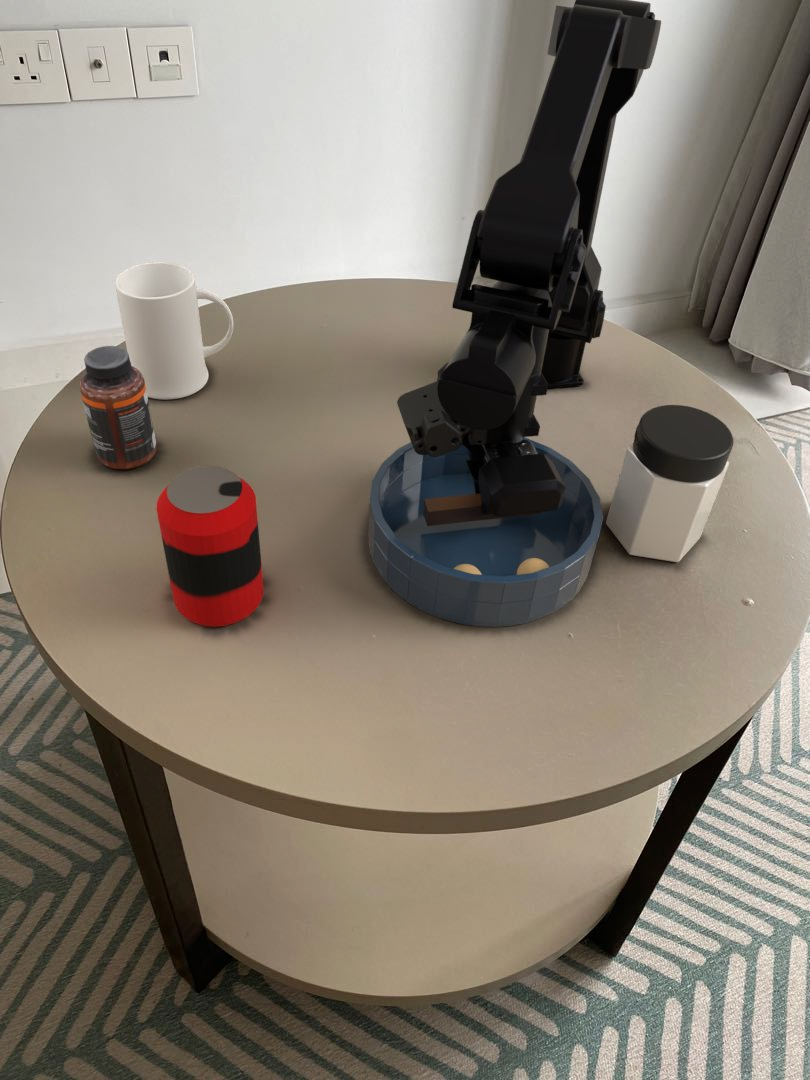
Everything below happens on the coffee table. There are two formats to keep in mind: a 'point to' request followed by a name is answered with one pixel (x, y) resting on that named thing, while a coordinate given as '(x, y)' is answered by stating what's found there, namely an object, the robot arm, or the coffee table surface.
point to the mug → (166, 327)
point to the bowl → (479, 542)
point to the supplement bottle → (117, 409)
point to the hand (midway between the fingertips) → (484, 505)
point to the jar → (669, 481)
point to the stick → (457, 510)
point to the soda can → (211, 545)
